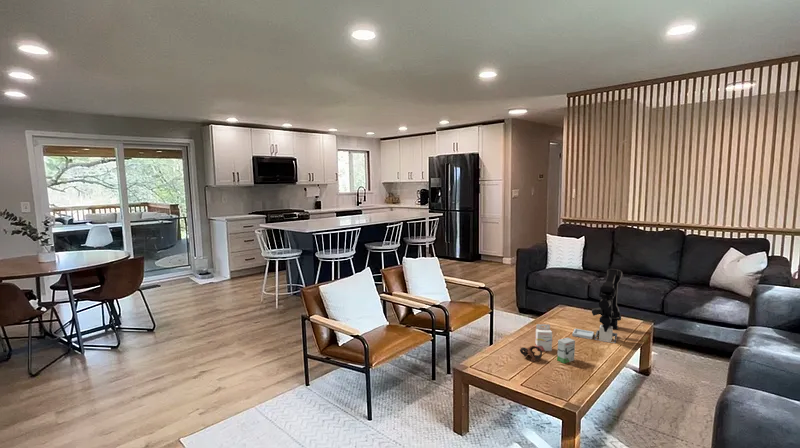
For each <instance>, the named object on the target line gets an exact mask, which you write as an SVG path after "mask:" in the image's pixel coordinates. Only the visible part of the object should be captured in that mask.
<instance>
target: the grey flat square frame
mask: <svg viewBox="0 0 800 448" xmlns="http://www.w3.org/2000/svg"><path fill="white" fill-rule="evenodd" d="M614 336H615V337H614ZM598 337H599V329H597V330H596V332H595V334H594V341H600V342H605V343H612V344H616V343H617V338H618V333H615V332H613V334H612V337H614V339H613V341H612V342H611V341H605V340H599V338H598ZM597 338H598V339H597Z"/></svg>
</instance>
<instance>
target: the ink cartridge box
mask: <svg viewBox="0 0 800 448" xmlns="http://www.w3.org/2000/svg"><path fill="white" fill-rule="evenodd" d="M535 326H536V327H535V342H534V343H535V345H534V346H537V347H539V348H540V349H541V351H543V352H552V351H553V350H552V349H553V331H552V330H551V324H546V323H542V324H540V323H536V325H535ZM536 350H537V349H536ZM537 351H539V350H537ZM539 352H540V351H539Z"/></svg>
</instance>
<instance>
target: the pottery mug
mask: <svg viewBox="0 0 800 448" xmlns="http://www.w3.org/2000/svg"><path fill="white" fill-rule="evenodd" d="M533 350H539V353H540V354H538V355H537V354H536V352H535V351H533ZM519 352H520V354H521V355H523V357H524V358H525V357H527V355H529V356H530V358H531V359H530V361H531V362H532V363H534V362H536V361H539V360H541V358H542V357H543V352H542V351H541V349H540V348H539V347H537V346H535V345H531V346H529V347H520V349H519ZM535 354H536V355H535Z"/></svg>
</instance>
